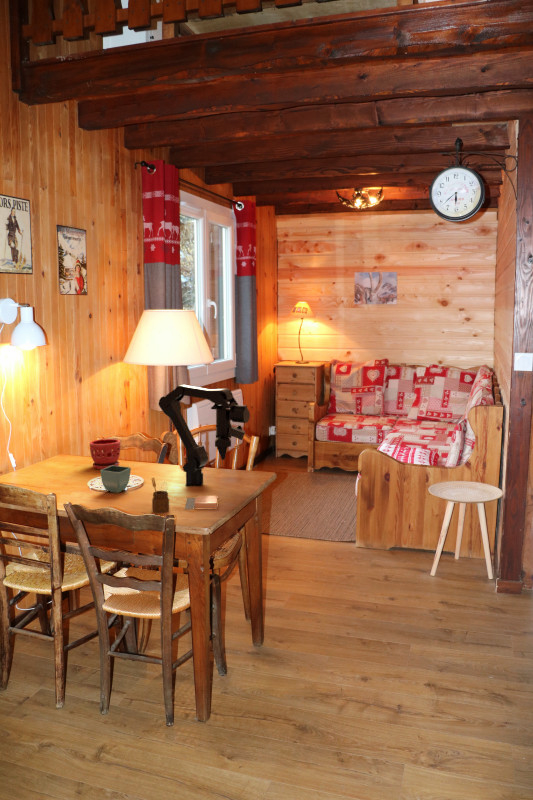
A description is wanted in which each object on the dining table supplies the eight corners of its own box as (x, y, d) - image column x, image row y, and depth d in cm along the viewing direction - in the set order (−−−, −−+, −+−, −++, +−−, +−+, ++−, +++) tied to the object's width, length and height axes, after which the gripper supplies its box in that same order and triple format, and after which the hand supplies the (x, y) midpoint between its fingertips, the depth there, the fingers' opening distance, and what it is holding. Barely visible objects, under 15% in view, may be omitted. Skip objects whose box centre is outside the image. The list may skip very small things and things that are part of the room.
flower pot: (131, 489, 265) (131, 467, 263) (120, 495, 257) (119, 472, 255) (112, 486, 268) (112, 465, 266) (100, 492, 259) (99, 470, 258)
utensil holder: (163, 515, 233) (162, 482, 232) (148, 512, 236) (147, 479, 234) (172, 510, 239) (172, 478, 237) (157, 508, 241) (157, 475, 240)
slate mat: (184, 510, 239) (184, 509, 239) (187, 498, 253) (187, 497, 253) (218, 510, 239) (218, 509, 239) (218, 498, 253) (218, 497, 253)
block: (195, 501, 249) (194, 508, 240) (195, 495, 248) (194, 503, 240) (217, 500, 249) (216, 508, 240) (217, 495, 249) (216, 503, 240)
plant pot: (125, 464, 303) (124, 438, 301) (112, 471, 290) (111, 445, 288) (99, 462, 306) (98, 437, 304) (85, 469, 293) (84, 443, 291)
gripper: (244, 425, 253) (244, 465, 256) (243, 416, 272) (243, 454, 274) (214, 425, 253) (214, 465, 255) (216, 416, 271) (216, 454, 273)
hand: (223, 459), depth 264 cm, fingers closed
